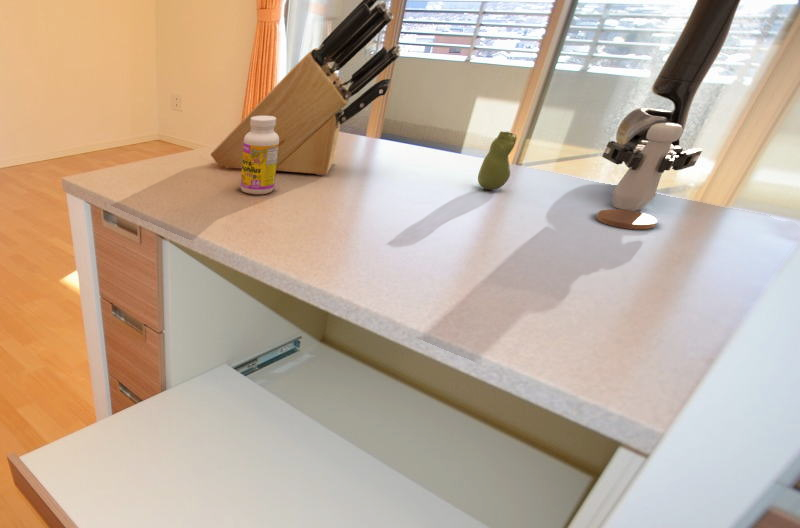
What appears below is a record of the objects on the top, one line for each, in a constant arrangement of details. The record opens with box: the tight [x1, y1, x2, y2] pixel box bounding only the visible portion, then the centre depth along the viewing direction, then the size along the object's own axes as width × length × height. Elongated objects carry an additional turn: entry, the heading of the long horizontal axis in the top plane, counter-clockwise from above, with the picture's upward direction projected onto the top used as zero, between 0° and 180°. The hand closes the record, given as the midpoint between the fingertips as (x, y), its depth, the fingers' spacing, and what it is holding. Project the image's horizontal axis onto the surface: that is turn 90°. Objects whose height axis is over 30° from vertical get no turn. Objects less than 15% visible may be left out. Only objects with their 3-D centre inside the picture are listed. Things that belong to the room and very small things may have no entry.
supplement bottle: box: [239, 116, 279, 196], centre depth 103 cm, size 7×7×13 cm
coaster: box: [595, 208, 658, 231], centre depth 89 cm, size 8×8×1 cm
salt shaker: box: [612, 123, 683, 212], centre depth 90 cm, size 6×6×13 cm
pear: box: [477, 130, 518, 191], centre depth 102 cm, size 6×5×10 cm
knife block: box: [210, 0, 402, 176], centre depth 111 cm, size 11×35×31 cm, turn 69°
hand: (650, 164), depth 88 cm, fingers closed on salt shaker, 3 cm apart
